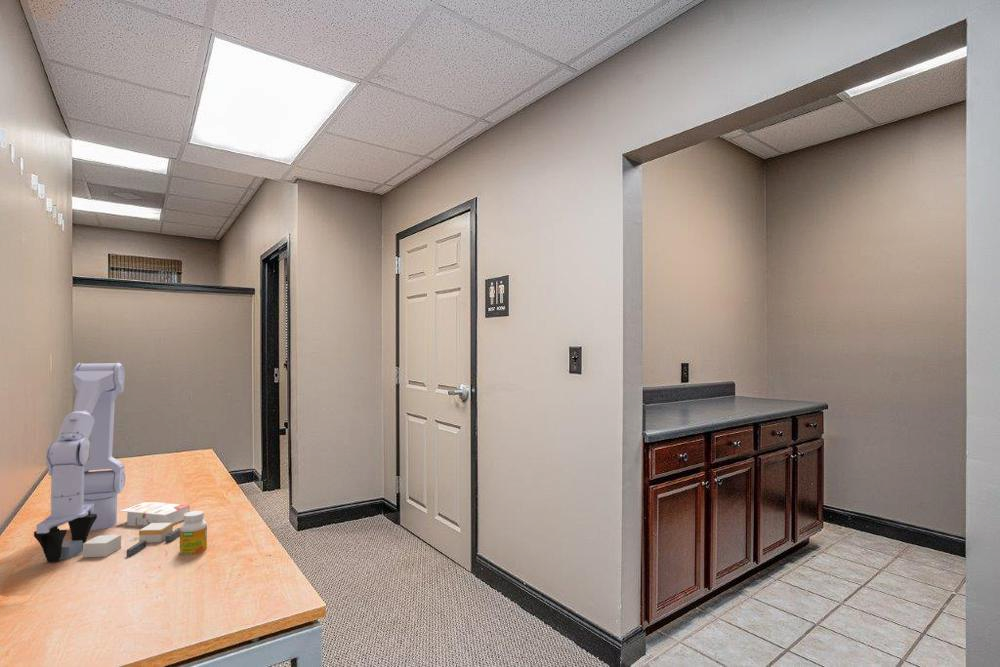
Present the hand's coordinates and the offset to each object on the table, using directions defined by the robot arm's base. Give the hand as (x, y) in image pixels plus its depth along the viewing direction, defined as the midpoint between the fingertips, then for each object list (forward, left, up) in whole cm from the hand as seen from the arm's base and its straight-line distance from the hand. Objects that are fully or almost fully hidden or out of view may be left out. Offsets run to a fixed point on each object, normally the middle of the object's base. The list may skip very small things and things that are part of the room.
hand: (66, 554), depth 118 cm
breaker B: (+7, +1, 0) cm, 7 cm away
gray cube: (0, 0, -2) cm, 2 cm away
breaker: (+14, +9, 0) cm, 17 cm away
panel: (+11, +6, -1) cm, 13 cm away
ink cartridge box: (+13, +21, +1) cm, 25 cm away
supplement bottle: (+27, +1, -2) cm, 27 cm away
